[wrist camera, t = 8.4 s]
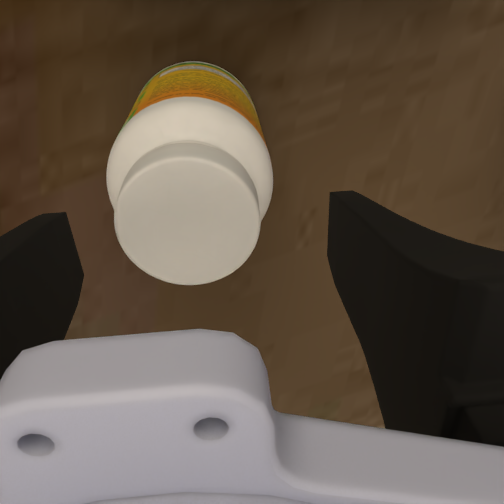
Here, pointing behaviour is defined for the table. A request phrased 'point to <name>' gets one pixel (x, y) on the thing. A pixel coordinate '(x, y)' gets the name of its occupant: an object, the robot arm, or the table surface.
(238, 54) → the table surface
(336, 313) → the table surface
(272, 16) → the table surface
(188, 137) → the supplement bottle
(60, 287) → the robot arm
